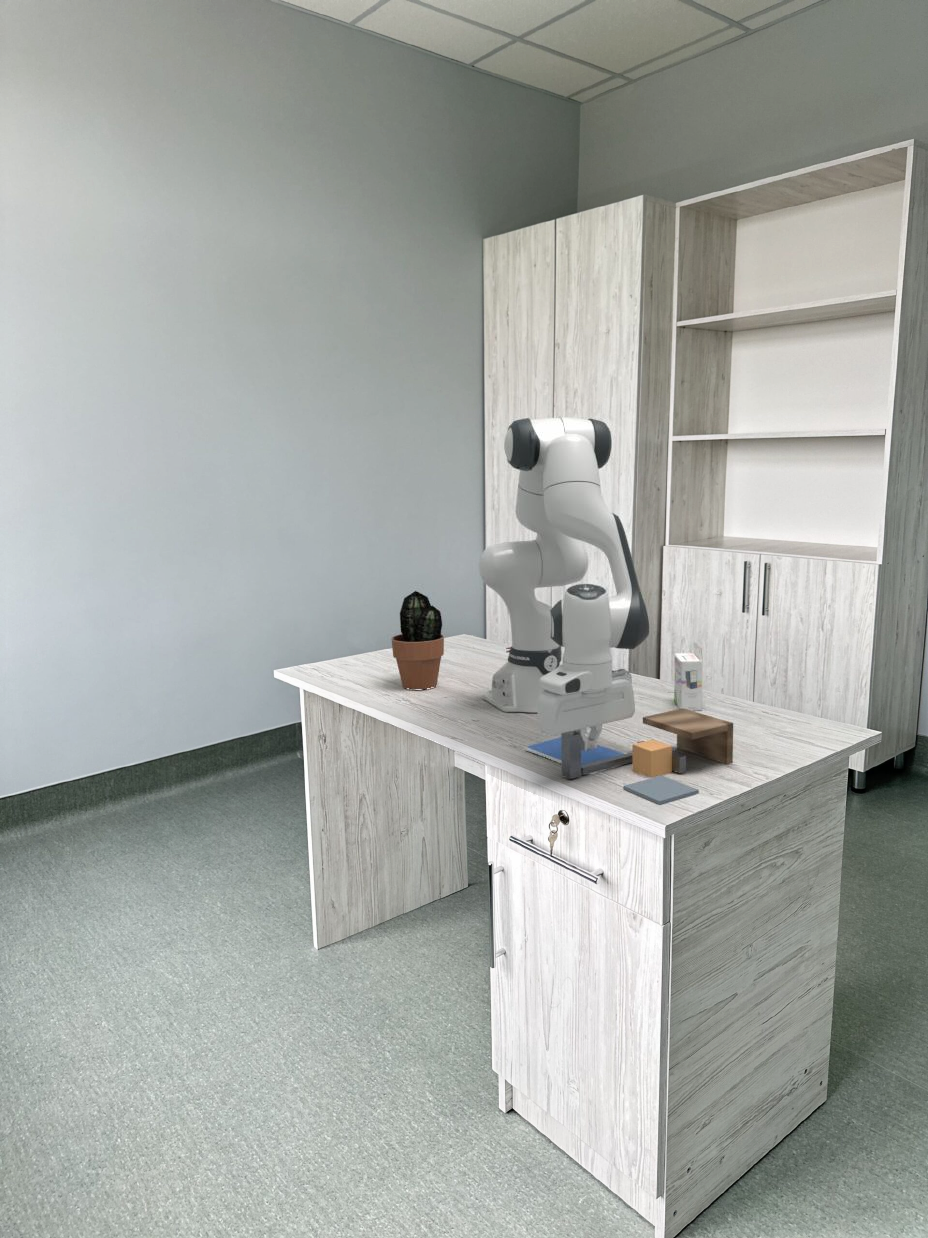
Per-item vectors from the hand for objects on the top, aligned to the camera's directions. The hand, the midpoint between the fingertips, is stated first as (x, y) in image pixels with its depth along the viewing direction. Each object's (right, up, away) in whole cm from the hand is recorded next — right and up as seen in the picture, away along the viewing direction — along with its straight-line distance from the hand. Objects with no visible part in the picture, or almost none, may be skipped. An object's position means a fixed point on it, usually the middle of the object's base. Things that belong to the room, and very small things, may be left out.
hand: (588, 749), depth 165 cm
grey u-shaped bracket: (+6, -4, -1) cm, 8 cm away
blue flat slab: (0, -4, +11) cm, 12 cm away
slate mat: (+11, -6, -9) cm, 16 cm away
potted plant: (-34, +6, +71) cm, 79 cm away
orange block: (+12, -4, +1) cm, 13 cm away
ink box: (+29, +3, +44) cm, 52 cm away
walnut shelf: (+20, -3, +7) cm, 21 cm away
